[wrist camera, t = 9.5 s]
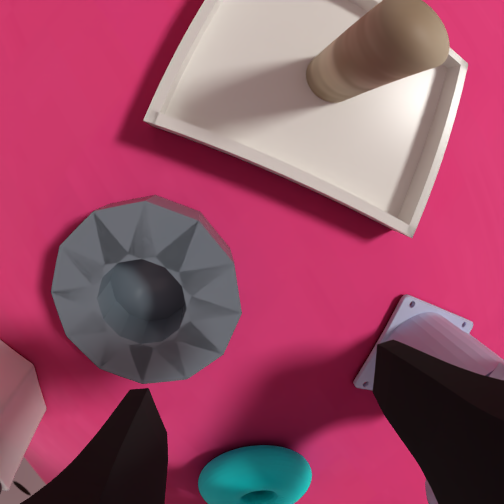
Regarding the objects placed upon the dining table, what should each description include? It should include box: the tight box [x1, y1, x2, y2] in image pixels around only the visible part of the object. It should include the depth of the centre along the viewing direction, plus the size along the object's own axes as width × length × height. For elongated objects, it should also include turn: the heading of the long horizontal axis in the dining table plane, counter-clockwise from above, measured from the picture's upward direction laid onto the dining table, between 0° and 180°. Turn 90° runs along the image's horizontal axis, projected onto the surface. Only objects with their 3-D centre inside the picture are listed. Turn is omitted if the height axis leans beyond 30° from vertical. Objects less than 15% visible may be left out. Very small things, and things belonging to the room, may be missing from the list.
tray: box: [143, 0, 468, 238], centre depth 16 cm, size 16×13×2 cm
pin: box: [306, 0, 449, 103], centre depth 12 cm, size 3×3×8 cm
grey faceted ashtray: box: [51, 195, 242, 384], centre depth 17 cm, size 10×10×3 cm
